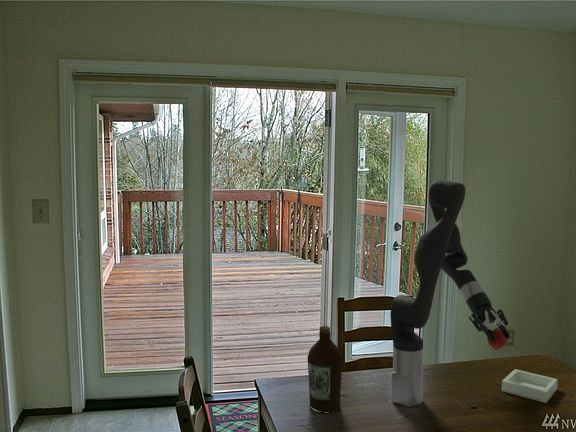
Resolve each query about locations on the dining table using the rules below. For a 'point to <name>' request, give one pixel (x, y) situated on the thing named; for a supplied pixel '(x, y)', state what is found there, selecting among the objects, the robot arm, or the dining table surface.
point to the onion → (497, 339)
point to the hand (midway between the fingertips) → (500, 339)
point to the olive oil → (325, 373)
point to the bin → (529, 385)
